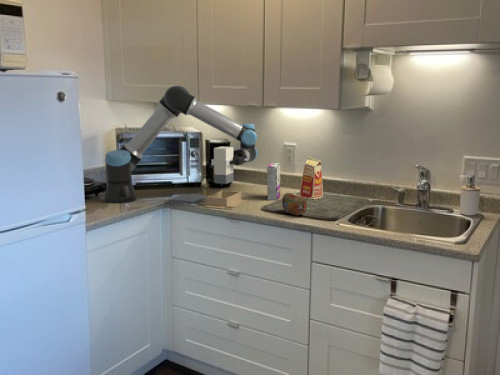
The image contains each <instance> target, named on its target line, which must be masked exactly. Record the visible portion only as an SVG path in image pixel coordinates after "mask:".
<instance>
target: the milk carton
mask: <svg viewBox="0 0 500 375" xmlns="http://www.w3.org/2000/svg"><path fill="white" fill-rule="evenodd" d="M321 162H322V160H320V159H317V158H313V157H311V156H307V160H306V162H305V163H304V167H303V171H302V175H301V180H300V181H301V182H300V189H299V194H298V195H300V196H303V197H304V198H308V199H307V200H312V199H314V200H318V198H319V199H322V198H323V197H324V188H323V172H322V163H321ZM321 197H322V198H321Z"/></svg>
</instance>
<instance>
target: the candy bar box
mask: <svg viewBox="0 0 500 375" xmlns="http://www.w3.org/2000/svg"><path fill="white" fill-rule="evenodd" d="M266 175H267V176H266V181H267V201H279V198H281V163H279V162H276V163H275V162H271V163H270V164H268V165H267V166H266Z"/></svg>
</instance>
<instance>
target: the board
mask: <svg viewBox="0 0 500 375" xmlns="http://www.w3.org/2000/svg"><path fill="white" fill-rule="evenodd" d="M207 196H208V195H202V194H189V193H183V194H180V195H176V196H174V197H172V198H168V202H169V201H173V202H172V203H180V202H183V203H182V204H190V205H191V204H195V205H196V204H197V203H199V202H202V201H204V200H205V201H206V197H207Z"/></svg>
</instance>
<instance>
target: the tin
mask: <svg viewBox="0 0 500 375" xmlns="http://www.w3.org/2000/svg"><path fill="white" fill-rule="evenodd" d="M281 201H282V207H283V210H284V212H286V211H288V212H290V213H289V214H291V213H292V215H295V216H303V215H304V214H305V213H306V212H307V199H305V198H304V197H303V196H300V195H299V194H297V193H293V192H286V193H284V195H283V197H282V200H281ZM288 212H287V213H288Z"/></svg>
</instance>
